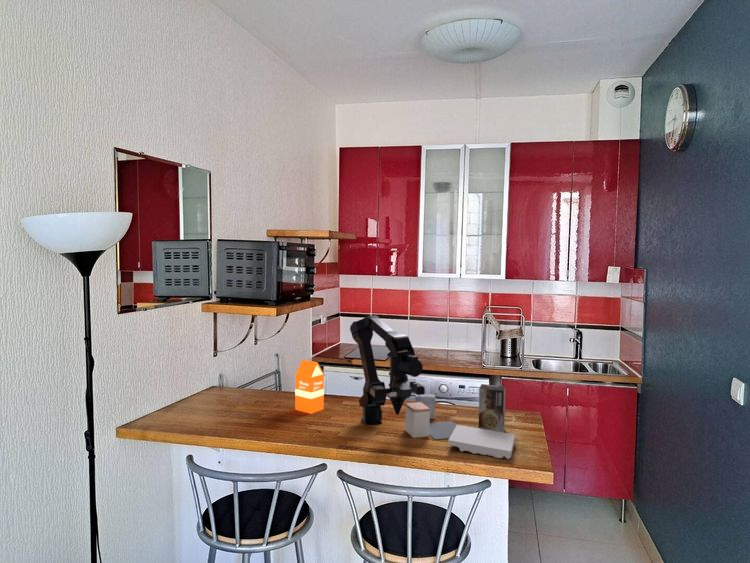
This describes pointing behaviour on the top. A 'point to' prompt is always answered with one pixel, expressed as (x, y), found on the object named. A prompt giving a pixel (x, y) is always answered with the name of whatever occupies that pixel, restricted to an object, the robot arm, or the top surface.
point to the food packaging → (482, 441)
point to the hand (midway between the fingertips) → (397, 414)
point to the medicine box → (427, 402)
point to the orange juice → (309, 387)
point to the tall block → (417, 419)
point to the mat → (441, 430)
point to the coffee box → (492, 407)
